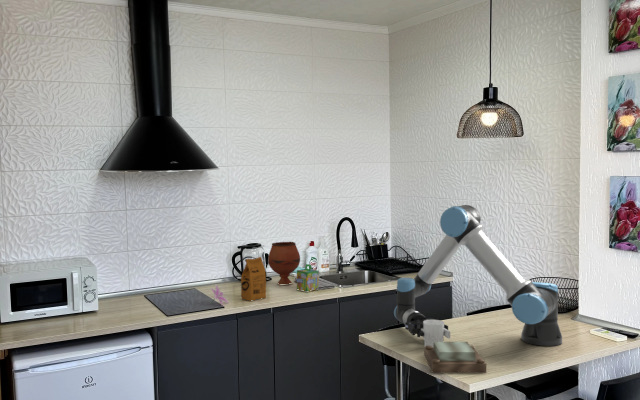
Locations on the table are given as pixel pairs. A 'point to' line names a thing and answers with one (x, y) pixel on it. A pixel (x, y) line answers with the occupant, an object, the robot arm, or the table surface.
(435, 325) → the white cup
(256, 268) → the coffee package
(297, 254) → the goblet
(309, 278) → the colorful lantern
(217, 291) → the lily
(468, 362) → the plinth
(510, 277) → the robot arm
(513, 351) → the table surface
